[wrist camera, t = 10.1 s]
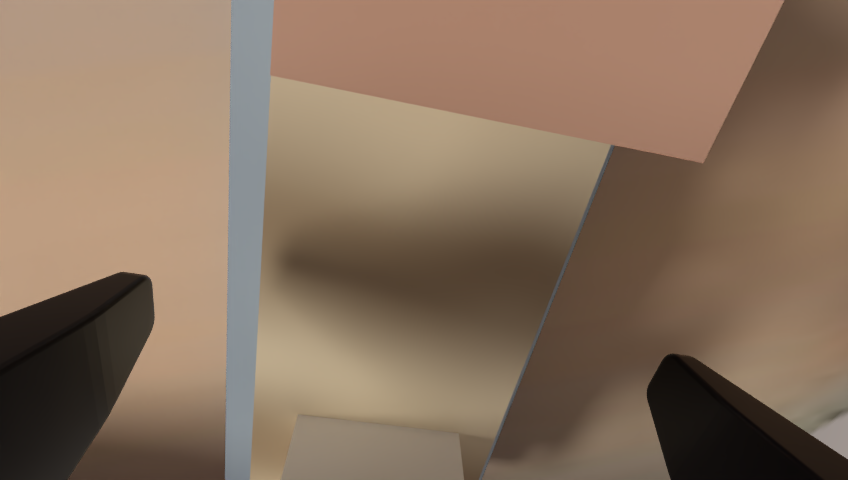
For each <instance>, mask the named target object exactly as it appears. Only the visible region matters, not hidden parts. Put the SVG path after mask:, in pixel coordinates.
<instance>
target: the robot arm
mask: <svg viewBox="0 0 848 480" xmlns="http://www.w3.org/2000/svg"><path fill="white" fill-rule="evenodd" d="M153 324H154V302H153V289H152V282H151V279H150V278H149V277H148V276H146V275H141V274H135V273H128V272H120V273H117V274H114V275H111V276H109V277H106V278H103V279H101V280H98V281H95V282H92V283H90V284H87V285H84V286H82V287H79V288H76V289H74V290H71V291H68V292H66V293H63V294H60V295H58V296H55V297H52V298H50V299H47V300H44V301H42V302H39V303H36V304H34V305H31V306H28V307H26V308H23V309H20V310H18V311H15V312H12V313H10V314H7V315H4V316H2V317H0V480H67V479H68V478H69V476H70V475H71V473H72V472H73V470H74V469H75V467H76V466H77V464H78V463H79V461H80V459H81V458H82V456H83V455H84V453H85V452H86V450H87V449H88V447H89V446H90V444H91V442H92V441H93V439H94V438H95V436H96V435H97V433H98V432H99V430H100V429H101V427H102V425H103V424H104V422H105V420H106V419H107V417H108V416H109V414H110V412H111V410H112V408H113V406H114V404H115V403H116V401H117V399H118V397H119V395H120V393H121V391H122V389H123V387H124V385H125V383H126V381H127V379H128V377H129V375H130V373H131V371H132V369H133V367H134V365H135V363H136V361H137V359H138V357H139V355H140V353H141V351H142V349H143V347H144V345H145V343H146V341H147V339H148V337H149V335H150V333H151V331H152V328H153ZM647 400H648V403H649V407H650V410H651V414H652V417H653V421H654V424H655V428H656V431H657V435H658V438H659V442H660V445H661V448H662V452H663V455H664V459H665V462H666V466H667V469H668V472H669V475H670V479H671V480H848V459H846V458H845V457H843V456H842V455H840V454H838V453H837V452H836V451H834V450H833V449H831V448H829V447H828V446H826V445H825V444H824V443H822V442H821V441H819V440H818V439H816V438H814V437H813V436H811V435H810V434H808V433H807V432H805V431H804V430H802V429H801V428H799V427H798V426H796V425H795V424H793V423H792V422H790V421H789V420H787V419H786V418H784V417H783V416H781V415H780V414H778V413H777V412H775V411H774V410H772V409H771V408H769V407H768V406H766V405H765V404H763V403H762V402H760V401H759V400H757V399H756V398H754V397H753V396H751V395H750V394H748V393H747V392H745V391H744V390H742V389H740V388H739V387H737V386H736V385H734V384H733V383H731V382H730V381H728V380H727V379H725V378H724V377H722V376H721V375H719V374H718V373H716V372H715V371H713V370H712V369H710V368H709V367H707V366H706V365H704V364H703V363H701V362H700V361H698V360H697V359H695V358H693V357H691V356H686V355H679V354H668V355H667V356H666V357H664V359H663V360H662V362H661V364H660V366H659V367H658V369H657V371H656V373H655V374H654V376H653V378H652V380H651V381H650V383H649V385H648V388H647Z"/></svg>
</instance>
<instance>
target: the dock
mask: <svg viewBox="0 0 848 480" xmlns="http://www.w3.org/2000/svg"><path fill="white" fill-rule="evenodd" d="M273 10H274V0H232V1H231V74H230V147H229V220H228V293H227V366H226V439H225V480H250V468H251V449H252V429H253V410H254V391H255V372H256V352H257V333H258V314H259V294H260V275H261V256H262V237H263V217H264V198H265V179H266V160H267V140H268V121H269V102H270V82H271V75H270V67H271V48H272V29H273ZM614 146H615V145H611V146H610V149H609V151H608V154H607V156H606V159H605V162H604V164H603V167H602V169H601V172H600V174H599V177H598V179H597V182H596V184H595V187H594V189H593V192H592V194H591V197H590V199H589V202H588V205H587V207H586V210H585V212H584V215H583V217H582V220H581V222H580V225H579V227H578V230H577V232H576V235H575V237H574V240H573V242H572V245H571V248H570V250H569V253H568V255H567V258H566V260H565V263H564V265H563V268H562V270H561V273H560V275H559V278H558V280H557V283H556V285H555V288H554V290H553V293H552V296H551V298H550V301H549V303H548V306H547V308H546V311H545V313H544V316H543V318H542V321H541V323H540V326H539V328H538V331H537V333H536V336H535V339H534V341H533V344H532V346H531V349H530V351H529V354H528V356H527V359H526V361H525V364H524V366H523V369H522V371H521V374H520V376H519V379H518V381H517V384H516V387H515V389H514V392H513V394H512V397H511V399H510V402H509V404H508V407H507V409H506V412H505V414H504V417H503V419H502V422H501V424H500V427H499V430H498V432H497V435H496V437H495V440H494V442H493V445H492V447H491V450H490V452H489V455H488V457H487V460H486V462H485V465H484V467H483V470H482V473H481V475H480V478H479V480H482V477H483V475H484V472H485V470H486V467H487V465H488V462H489V460H490V457H491V455H492V452H493V449H494V447H495V444H496V442H497V439H498V437H499V434H500V432H501V429H502V427H503V424H504V422H505V419H506V417H507V414H508V412H509V409H510V407H511V404H512V402H513V399H514V397H515V394H516V392H517V389H518V387H519V384H520V382H521V379H522V377H523V374H524V372H525V369H526V367H527V364H528V362H529V359H530V357H531V354H532V352H533V349H534V347H535V344H536V342H537V339H538V337H539V334H540V332H541V329H542V327H543V324H544V322H545V319H546V317H547V314H548V312H549V309H550V307H551V304H552V302H553V299H554V297H555V294H556V292H557V289H558V287H559V284H560V282H561V279H562V277H563V274H564V272H565V269H566V267H567V264H568V262H569V259H570V257H571V254H572V252H573V249H574V247H575V244H576V242H577V239H578V237H579V234H580V231H581V229H582V226H583V224H584V221H585V219H586V216H587V214H588V211H589V209H590V206H591V204H592V201H593V199H594V196H595V194H596V191H597V189H598V186H599V184H600V181H601V179H602V176H603V174H604V171H605V169H606V166H607V164H608V161H609V159H610V156H611V154H612V151H613V149H614Z"/></svg>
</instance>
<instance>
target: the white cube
mask: <svg viewBox="0 0 848 480" xmlns="http://www.w3.org/2000/svg"><path fill="white" fill-rule="evenodd" d="M281 480H464V475H463V466H462V457H461V448H460V439H459V433H453V432H444V431H436V430H427V429H419V428H410V427H401V426H393V425H384V424H376V423H367V422H359V421H350V420H342V419H333V418H325V417H316V416H308V415H299V414H298V416H297V419H296V423H295V427H294V431H293V435H292V439H291V442H290V446H289V450H288V454H287V458H286V461H285V465H284V469H283V473H282V477H281Z"/></svg>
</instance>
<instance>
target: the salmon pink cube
mask: <svg viewBox="0 0 848 480" xmlns="http://www.w3.org/2000/svg"><path fill="white" fill-rule="evenodd" d="M783 2H784V0H274V10H273V29H272V48H271V67H270V75H271V76H276V77H280V78H285V79H290V80H295V81H300V82H305V83H310V84H315V85H320V86H325V87H330V88H335V89H340V90H345V91H349V92H354V93H359V94H364V95H369V96H374V97H379V98H384V99H389V100H394V101H399V102H404V103H409V104H414V105H418V106H423V107H428V108H433V109H438V110H443V111H448V112H453V113H458V114H463V115H468V116H473V117H478V118H483V119H487V120H492V121H497V122H502V123H507V124H512V125H517V126H522V127H527V128H532V129H537V130H542V131H547V132H552V133H557V134H561V135H566V136H571V137H576V138H581V139H586V140H591V141H596V142H601V143H606V144H611V145H616V146H621V147H626V148H630V149H635V150H640V151H645V152H650V153H655V154H660V155H665V156H670V157H675V158H680V159H685V160H690V161H695V162H699V163H704V161H705V159H706V157H707V155H708V153H709V151H710V149H711V147H712V145H713V143H714V141H715V139H716V137H717V135H718V133H719V131H720V129H721V127H722V125H723V123H724V121H725V119H726V117H727V115H728V113H729V111H730V109H731V107H732V105H733V103H734V101H735V99H736V97H737V95H738V93H739V91H740V89H741V87H742V85H743V83H744V81H745V79H746V77H747V75H748V73H749V71H750V69H751V67H752V65H753V63H754V61H755V59H756V57H757V55H758V53H759V51H760V49H761V47H762V45H763V43H764V41H765V39H766V37H767V35H768V33H769V31H770V29H771V27H772V25H773V23H774V21H775V19H776V17H777V15H778V12H779V10H780V8H781V6H782V4H783Z"/></svg>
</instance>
